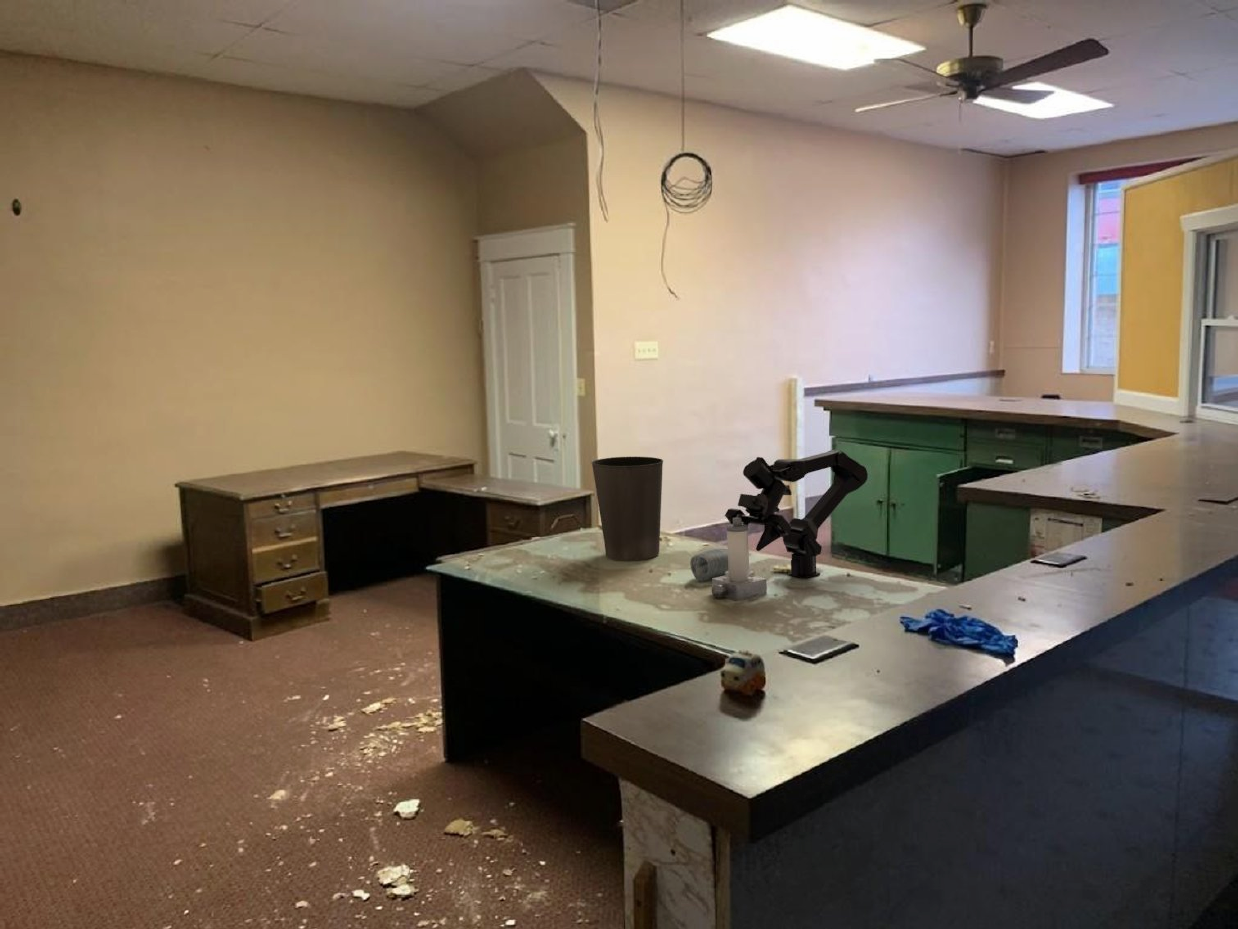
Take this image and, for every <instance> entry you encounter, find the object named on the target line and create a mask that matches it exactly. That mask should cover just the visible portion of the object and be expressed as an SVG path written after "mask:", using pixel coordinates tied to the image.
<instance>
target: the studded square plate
mask: <svg viewBox="0 0 1238 929" xmlns="http://www.w3.org/2000/svg"><path fill="white" fill-rule="evenodd" d="M749 576H750V577H748V578H746V581H731V580H729V572H728V571H727V572H725V576H721V577H716V578H712V579H711V584H712V586H711V594H712V596H713V597H714V598H715V599H716V598H720V597H723V598H727V599H730V600H732V601H736V602H741V601H743V600H748V599H753V598H755V597H759V596H763V595H767V593H768V590H767V589H768V588H767V578H766V577H761V576H757V575H756V573H755V571H750V570H749Z"/></svg>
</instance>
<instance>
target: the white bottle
mask: <svg viewBox="0 0 1238 929" xmlns="http://www.w3.org/2000/svg"><path fill="white" fill-rule="evenodd" d="M726 537H727V538H726V539H727V540H726V541H727V550H728V572H729V580H731V581H746V578H748V577H750V576H749V572H750V555H749V554H750V551H749V548H750V547H749V524H748V525H746V524H742V523H741V518H739V517H737V518H733V524H731V523H730V524H727V525H726Z"/></svg>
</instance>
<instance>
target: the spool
mask: <svg viewBox="0 0 1238 929" xmlns="http://www.w3.org/2000/svg"><path fill="white" fill-rule="evenodd" d="M690 569H691V573H692V574H693V576H694V578H695V579H696V580H697V581H698V582H701V583H702V582H707V581H710V580H712V578H716V577H721V576H725V572H727V571H728V548H721V547H720V548H712V549H708V550H705V551H702V552H699V553H696V554H694V555H693V556H692V557H691V558H690Z"/></svg>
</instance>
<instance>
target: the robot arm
mask: <svg viewBox="0 0 1238 929" xmlns="http://www.w3.org/2000/svg"><path fill="white" fill-rule="evenodd" d="M829 468H830V470H831V472H833V479H832V484H831V486H830V487H829V488H828V489H827V490H826V491H825V492H824V493H823V495H822V496H821V497H819V500H818V501H817V502H816V503H815V505H813V506H812V508H811V509H810V510H809V511H808V512H807V514H806V515H805V516H804V517H803V518H796V517H794V518H792V519H791V520H790V522H789V521H788V520H787V519H786V518H785V516H784V515H783V514H778V513H780V511H781V510H780V508H779V505H780V503H781V502H782V500H783V498H784V496H791V495H792V490H791V489H790V485H788V484H785V483H784V482H790V483H795V482H798V481H800V480H802V479H803V478H805V476H806V475H808V474H810V473H813V472H818V471H821V470H824V469H829ZM868 474H869V473H868V470H867V468H866V467H865V466H864V465H861V463H859V462H858V461H856V460H854V459H853V458H851V457H850V456H849V455H847V454H846V453H845V452H844V451H841V450H834V449H833V450H831V449H830V450H828V451H826V452H821V453H819V454H813V455H809V456H807V457H803V458H799V459H796V458H795V459H794V458H793V459H792V458H791V459H790V458H781V459H776V460H775V461H774V462H773V464H770V465H769V464H768V463H767V461H766V459H765V458H764V457H762V456H761V457H760V456H757V457H756V458H755V459H754V460H752V461H750V462H749V463H748V464H746V465H745V466H744V468H743V472H742V475H743V476H744V477H745V478H746V479H747V480H748V482H750V483H751V485H753V486H754V487H755V489H758V490H761V491H760V493H757V495H752V494H746V493H744V494H743V493H740V495H739V499H738V503H737V507H743V509H745V512H746V513H747V514H749V515H746V514H745V512H743V511H742V510H741V509H740V508H739V509H738V508H732V507H731V508H728V509H727V511H726V512H725V514H724V517H725V518H726V519H727V521H728V522H729V523H730V524H733V518H737V517H739V518H741V523H742V524H746V525H748V526H749V524H752V525H759V526H764V528H763V532H762V534H761V536H760V537H759V540H758V542H757V545H756V547H755V550H756V551H757V552H760V551H762V550H763V549H765V547H767V546H769V545H770V544H772V543H773V542H775V541H777V540H778V539H779V538H782V542H783V545H784V546H785V549H786V552H787V553H791V559H790V572H788V573H787V574H788V576H793V577H795V578H800V579H808V578H812V577H817V576H820V575H821V572H819V571H817V556H819V555H821V553H822V550H823V547H822V545H821V544H820V543H819V542H818V541H817V540H818V533H819V529H820V527H821V526H822V525H823V524H824V523H825V521H826V520H827V519H828V518H829V517H830V515H831V514H832V513H833V512H834V511H835V510H836V508H837V507H838V506H839V505H840V504H841V503H842V501H843V500H844V499H845V497H847V495H848V494H852V492H855V491H857V490H859V489H860V488H861V487H862V486H863V485H865V484H866V483H867V481H868V478H869V477H868ZM775 513H777V514H775Z"/></svg>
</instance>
